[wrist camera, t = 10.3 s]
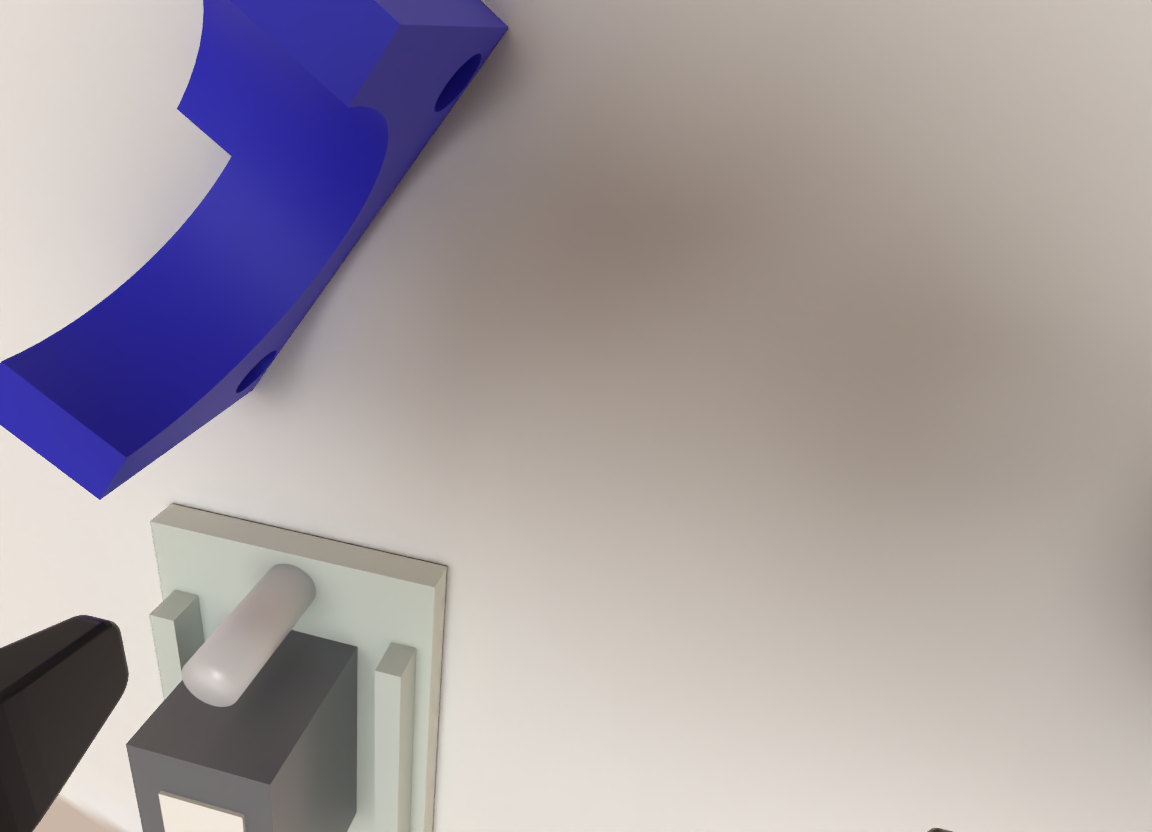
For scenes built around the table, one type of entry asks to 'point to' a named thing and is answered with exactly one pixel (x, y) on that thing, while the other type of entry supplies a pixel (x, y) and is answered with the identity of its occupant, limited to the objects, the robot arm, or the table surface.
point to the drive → (256, 749)
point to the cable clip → (249, 221)
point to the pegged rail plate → (317, 607)
